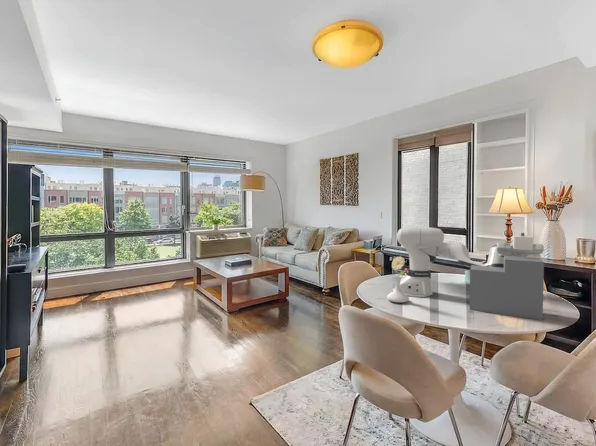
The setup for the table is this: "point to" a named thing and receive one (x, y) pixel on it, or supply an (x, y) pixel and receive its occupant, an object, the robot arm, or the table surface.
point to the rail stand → (509, 288)
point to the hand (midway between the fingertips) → (520, 242)
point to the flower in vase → (398, 282)
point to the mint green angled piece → (467, 276)
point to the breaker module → (523, 242)
